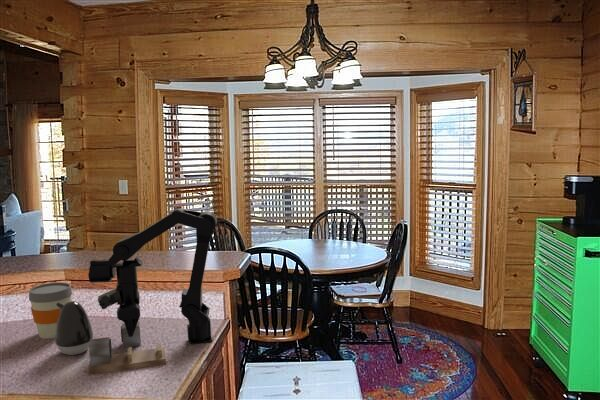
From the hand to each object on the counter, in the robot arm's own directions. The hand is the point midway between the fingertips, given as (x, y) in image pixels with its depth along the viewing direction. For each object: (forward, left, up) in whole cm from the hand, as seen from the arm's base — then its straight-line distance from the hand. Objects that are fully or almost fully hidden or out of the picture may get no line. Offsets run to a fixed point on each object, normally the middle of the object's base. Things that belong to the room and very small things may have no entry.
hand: (130, 331), depth 162 cm
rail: (+1, +14, -4) cm, 15 cm away
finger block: (0, 0, -4) cm, 4 cm away
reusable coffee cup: (+24, -18, -4) cm, 30 cm away
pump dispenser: (+16, 0, -4) cm, 16 cm away
